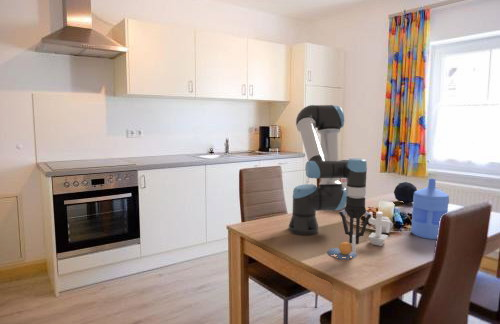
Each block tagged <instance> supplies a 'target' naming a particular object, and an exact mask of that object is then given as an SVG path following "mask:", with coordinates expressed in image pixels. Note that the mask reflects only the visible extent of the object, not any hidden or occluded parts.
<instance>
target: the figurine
mask: <svg viewBox="0 0 500 324" xmlns="http://www.w3.org/2000/svg"><path fill="white" fill-rule="evenodd" d="M368 213H371V217H370V218H369V220H368V224H369V225H373V226H374V225H376V228H375V232H373V231H372V232H371V233H370V234H369V235H368V240H369V241H370V243H371V245H374V246H380V247H382V246H383V245H384V243H385V241H386V240H387V238H388V236H389V235H387V234H390V232H391V230H390V222H389V221H387V220H382V217H384V216H383V213H384V212H382V211H376V212H375V216H376V218H374V217H373V211H369V212H368ZM382 226H385V227H386V232H387V233H386V234H385V233H381V229H382ZM389 231H390V232H389Z"/></svg>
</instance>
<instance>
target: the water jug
mask: <svg viewBox="0 0 500 324" xmlns="http://www.w3.org/2000/svg"><path fill="white" fill-rule="evenodd" d="M436 181H437V179H435V178H428V186H427V187H424V188H420V189H418V190H417V191H415V192H414V196H413V202H412V211H411V217H412V219H411V228H410V231H411V233H412V234H413V235H414V236H416V237H419V238H422V239H428V240H438V239H437V235H438V228H439V221H440V218H441V216H442V215H443V214H445V213H447V212H448V210H449V204H450V196H449V194H448V193H446V192H444V191H442V190H441V189H438V188H437V187H436V183H437V182H436ZM447 214H448V213H447Z"/></svg>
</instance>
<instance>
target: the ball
mask: <svg viewBox="0 0 500 324" xmlns="http://www.w3.org/2000/svg"><path fill="white" fill-rule="evenodd" d="M338 248H339V251H340V253H341V254H343V255H349V254H350V253H351V252H352V243H350V242H347V241H342V242H341V243H340V244H339V245H338Z"/></svg>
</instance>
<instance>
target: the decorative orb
mask: <svg viewBox="0 0 500 324" xmlns="http://www.w3.org/2000/svg"><path fill="white" fill-rule="evenodd" d="M415 191H417V187H416V185H415V184H412V183H411V182H407V181H405V182H398V184H397V185H396V186H395V188H394V191H393V194H394V199H396V200H397V201H398V202H399V201H403V202H404V203H403V204H404V205H407V204H413V196H414V192H415Z"/></svg>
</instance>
